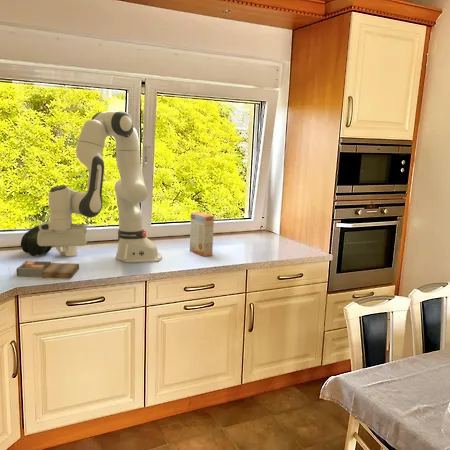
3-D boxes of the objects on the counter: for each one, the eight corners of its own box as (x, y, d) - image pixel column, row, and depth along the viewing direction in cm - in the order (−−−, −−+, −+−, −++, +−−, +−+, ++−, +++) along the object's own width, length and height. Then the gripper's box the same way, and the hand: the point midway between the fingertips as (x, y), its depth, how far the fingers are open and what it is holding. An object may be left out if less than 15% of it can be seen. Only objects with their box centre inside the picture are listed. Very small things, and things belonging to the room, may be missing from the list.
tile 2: (44, 270, 210) (44, 264, 210) (41, 273, 206) (41, 267, 206) (35, 270, 210) (34, 264, 210) (32, 272, 206) (31, 267, 206)
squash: (15, 248, 226) (37, 223, 228) (15, 242, 240) (35, 219, 242) (40, 265, 232) (61, 241, 234) (38, 259, 245) (58, 236, 248)
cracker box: (213, 255, 248) (214, 215, 244) (203, 257, 245) (204, 216, 241) (199, 249, 259) (200, 211, 255) (189, 250, 256) (190, 212, 252)
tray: (51, 269, 214) (51, 261, 214) (43, 277, 203) (42, 269, 202) (26, 268, 213) (26, 260, 213) (16, 276, 202) (16, 268, 201)
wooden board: (79, 268, 216) (79, 263, 216) (71, 278, 202) (71, 272, 202) (52, 268, 215) (51, 263, 215) (42, 277, 202) (42, 272, 201)
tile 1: (34, 261, 209) (28, 261, 209) (31, 264, 205) (25, 263, 205) (34, 270, 210) (28, 270, 210) (31, 273, 206) (25, 272, 206)
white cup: (81, 254, 241) (81, 234, 239) (70, 257, 234) (70, 237, 232) (69, 251, 244) (69, 232, 242) (58, 255, 237) (57, 235, 235)
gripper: (87, 222, 208) (89, 253, 212) (39, 222, 207) (41, 253, 210) (84, 225, 202) (86, 257, 205) (34, 226, 201) (37, 257, 204)
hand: (63, 255), depth 208 cm, fingers closed
